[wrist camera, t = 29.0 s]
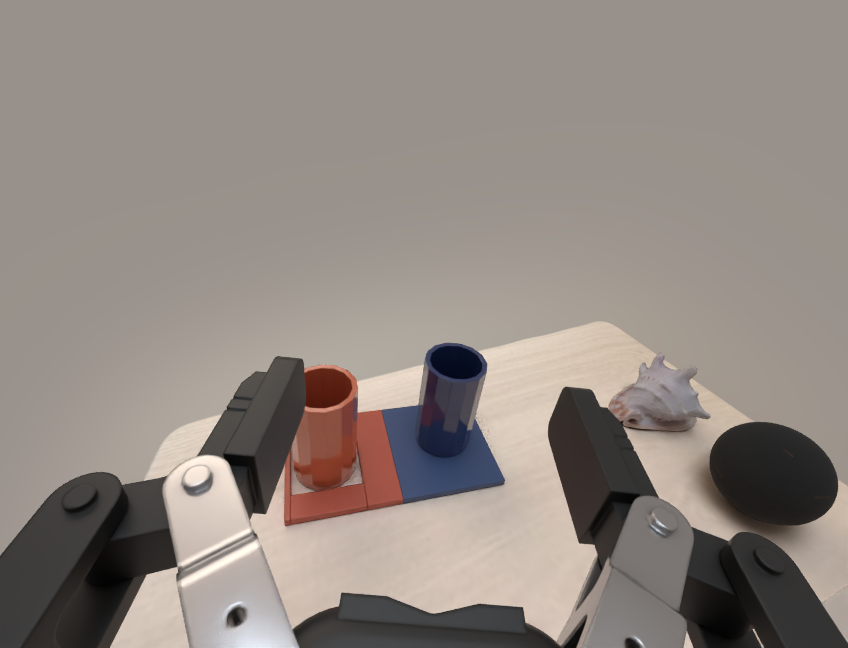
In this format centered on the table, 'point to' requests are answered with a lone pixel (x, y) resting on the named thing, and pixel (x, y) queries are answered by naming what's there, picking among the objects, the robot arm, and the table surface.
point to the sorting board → (395, 470)
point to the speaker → (773, 473)
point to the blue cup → (449, 398)
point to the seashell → (659, 399)
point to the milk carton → (838, 610)
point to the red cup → (327, 428)
